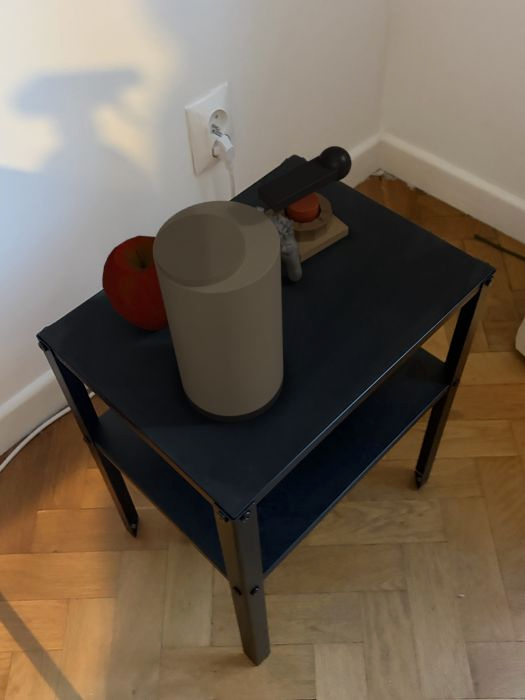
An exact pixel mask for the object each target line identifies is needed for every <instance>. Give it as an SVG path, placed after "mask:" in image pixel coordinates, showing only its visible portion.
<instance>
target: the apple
mask: <svg viewBox="0 0 525 700" xmlns="http://www.w3.org/2000/svg"><path fill="white" fill-rule="evenodd" d="M155 237H156V236H152V235H136V236H134V237H130V238H127V239H125V240H124V241H122V242H121V243H120V244H118V245H116V246H115V247H113V249H112V250H111V252H109V254H108V255H107V258H106V260H105V262H104V264H103V271H102V277H101V283H102V284H101V285H102V289H103V292H104V293H105V295H106V297H107V299H108V302H109V305H110V306H111V307H112V309H113V310H114V311H115V312H117V314H119V315H120V316H121V317H122V318H123V319H125V320H126V321H127V322H128V323H130V324H131V325H133V326H135V327H138V328H142V329H144V330H148V331H160V330H162V329H165V328H166V327H167V326H169V323H168V319H167V315H166V310H165V306H164V301H163V297H162V293H161V288H160V284H159V279H158V275H157V271H156V266H155V262H154V257H153V244H154V240H155Z"/></svg>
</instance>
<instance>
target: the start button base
mask: <svg viewBox="0 0 525 700" xmlns="http://www.w3.org/2000/svg"><path fill="white" fill-rule="evenodd" d="M313 193H314V194H316V195H317V197H318V199H319V213H318V216H317V217H316V219H314V220H313V221H311V222H308V223H297V222H294V221H293V223H292V227H293V231H294V237H295V240H296V241H297V243H298V245H299V256H300V264H301V263H303V262H304V261H306V260H308V259H309V258H311V257H313V256H314V255H316V254H318V253H319V252H321V251H323V250H324V249H326V248H328V247H330V246H331V245H333V244H335V243H337V242H338V241H340V240H342V239H343V238H344V237H346V236H348V235H349V226H348V225H346V223H344V222H343V221H341V219H339V218H338V217H337V216H336V215H335V214H334V213H333V209H332V204H331V201H329V200H328V199H327V198H326V197H325V196H323V195H322V194H321V193H318V192H316V191H315V192H313ZM264 214H265V215H266V216H267V217H269V215H271V216H278V215H279V214H280V215H281V216H283V217H284V218H285V219H288V220H291V219H289V217H288V216H287V207H286V208H285V209H283V210H281V211H279V212H277V213H275V212H274V211H273V210H272V209H271V208H269V209H268V210H266V211H264Z"/></svg>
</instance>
